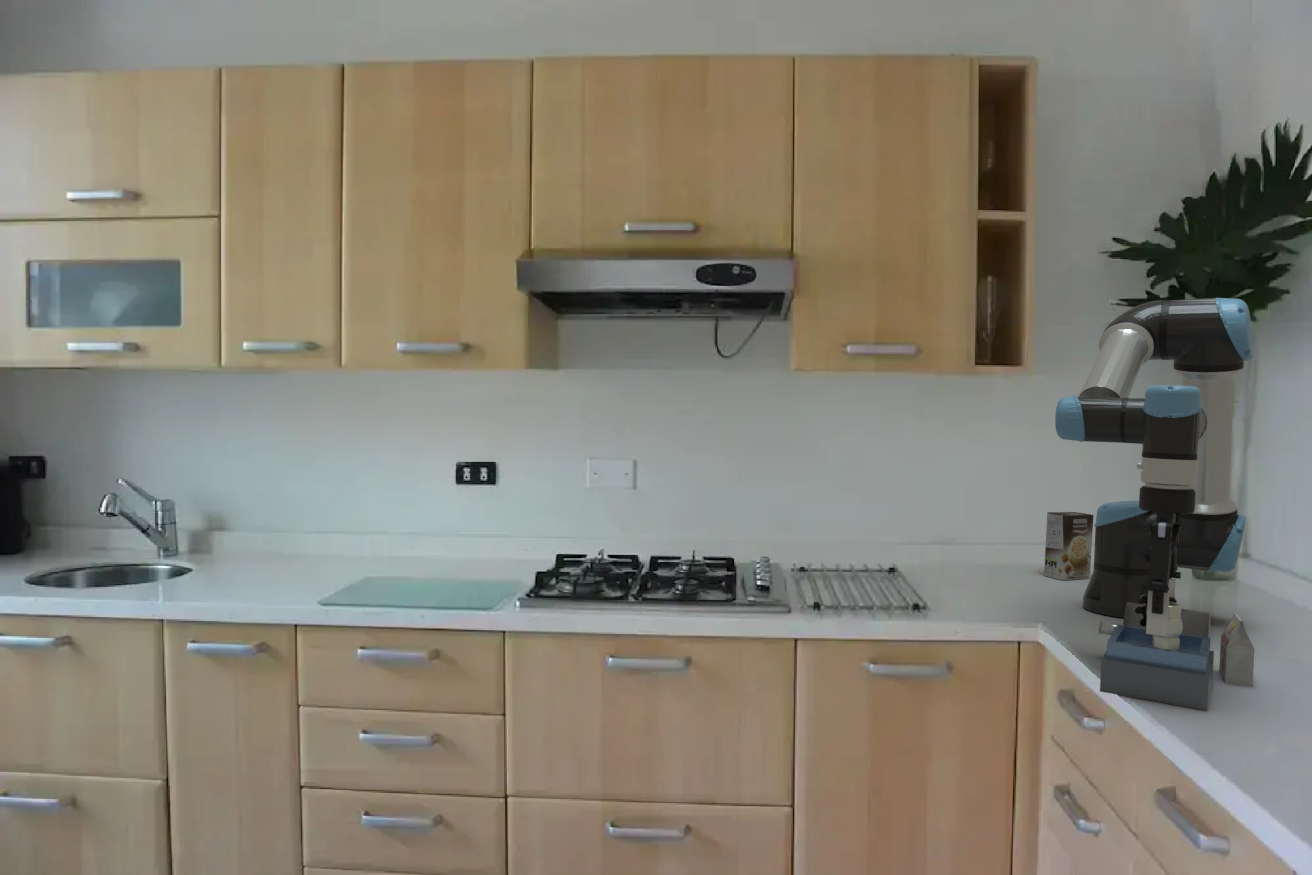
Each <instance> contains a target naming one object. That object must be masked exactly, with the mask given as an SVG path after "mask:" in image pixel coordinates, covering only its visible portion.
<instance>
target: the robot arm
mask: <svg viewBox="0 0 1312 875" xmlns="http://www.w3.org/2000/svg"><path fill="white" fill-rule="evenodd" d="M1253 336H1254V335H1253V329H1252V321H1251V314H1250V310H1249V306H1248V304H1247V303H1246V302H1245V301H1244V300H1242V299H1240V298H1227V297H1225V298H1224V297H1223V298H1222V297H1212V298H1211V297H1208V298H1191V299H1175V300H1174V299H1173V300H1172V299H1171V300H1170V299H1169V300H1165V299H1164V300H1163V299H1162V300H1151V301H1147V302H1144V303H1141V304H1139V305H1137V306H1134V307H1132V308H1130V309H1128V310H1127V311H1124V312H1123V313H1121V314H1120V315H1119V316H1117V317H1115V319H1113V320H1112V321H1111V322H1110V323H1109V324H1108V325H1107V326H1106V327H1105V329H1104V330H1103V333H1102V334H1101V336H1100V338H1099V342H1098V350H1099V354H1098V355H1097V357H1096V360H1095V361H1094V363H1093V365H1092V368H1091V370H1090V372H1089V374H1088V375H1087V378H1086V380H1085V382H1084V385H1083V387H1082V389H1081V390H1080V393H1079V395H1078V396H1076V395H1073V396H1064V397H1061V398H1060V399H1059V400H1058V401H1057V404H1056V408H1055V415H1054V417H1055V418H1054V420H1055V421H1054V422H1055V424H1054V425H1055V431H1056V434H1057V436H1058V437H1059V438H1060V439H1061V440H1065V441H1067V440H1068V441H1075V442H1080V443H1083V442H1090V443H1091V442H1095V443H1120V444H1121V443H1122V444H1138V445H1139V444H1140V445H1142V451H1141V462H1137V464H1136V468H1137V469H1138V470H1142V471H1141V472H1140V482H1141V483H1143V484H1144V485H1141V487H1140V488H1139V496H1138V498H1139V500H1124V501H1123V500H1122V501H1112V502H1105V503H1102V504H1101V505H1099V506H1098V507H1097V510H1096V519H1095V523H1094V527H1095V530H1094V531H1095V532H1094V550H1093V551H1094V553H1093V554H1094V555H1093V556H1094V558H1093V572H1092V575H1090V579H1089V581H1088V583H1087V586H1086V589H1085V591H1084V594H1083V597H1082V607H1083V608H1084V609H1085V610H1086V611H1090V612H1092V613H1094V614H1095V613H1096V614H1099V615H1103V616H1110V617H1116V618H1123V619H1124V614H1125V608H1126V604H1127V602H1132V603H1140V604H1144V602H1143V601H1141V599H1140V597H1141V595H1143V594H1145V595H1147V596H1148V605H1147V624H1146V634H1152V635H1159V636H1166V637H1167V622H1168V606H1169V597H1174V598H1175V597H1176V582H1177V581H1176V580H1177V579H1179V580H1180V579H1181V578H1182V572H1181V571H1178V568H1180V569H1190V570H1197V571H1205V572H1207V573H1210V572H1217V573H1218V572H1219V573H1220V572H1221V573H1229V572H1232V571H1234V569H1235V568H1236V566H1237V562H1238V559H1239V555H1240V550H1241V544H1242V540H1243V536H1244V531H1245V526H1246V522H1247V521H1246V520H1247V517H1246V515H1243V514H1240V513H1238V509H1239V508H1238V507H1239V506H1238V504H1237V503H1236V502H1235V501H1234V500H1232V499H1231V498H1230V484H1231V483H1230V481H1231V480H1230V479H1231V461H1232V460H1231V457H1232V456H1231V454H1232V453H1231V452H1232V432H1233V431H1232V430H1233V429H1232V428H1233V427H1232V426H1233V403H1234V381H1235V380H1234V379H1235V377H1237V375H1239V374H1240V373H1241V372H1242V371H1243V370H1244V365H1245V362H1248V361H1250V360H1252V359H1253V357H1254V344H1253V342H1254V341H1253V340H1254V339H1253ZM1151 360H1153V361H1155V360H1157V361H1160V360H1162V361H1173V371H1174V372H1175V373H1176V374H1177V375H1178V376H1180V377H1181V385H1173V384H1172V385H1167V384H1166V385H1164V384H1163V385H1162V384H1161V385H1160V384H1159V385H1150V386H1148V387H1147V388H1146V390H1145V391H1144V392H1145V394H1144V398H1141V397H1140V398H1139V397H1137V398H1135V397H1129V396H1130V395H1131V392H1132V389H1133V388H1134V384H1135V383H1136V379H1137V376H1138V374H1139V372H1140V370H1141V368H1142V366H1143V365H1144V364H1146V363H1147V362H1148V361H1151ZM1175 599H1176V598H1175Z"/></svg>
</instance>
